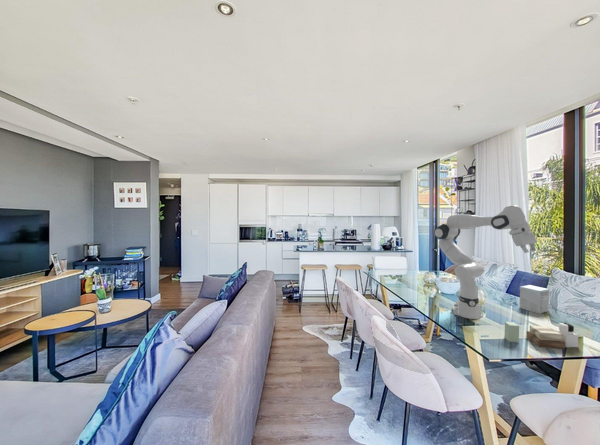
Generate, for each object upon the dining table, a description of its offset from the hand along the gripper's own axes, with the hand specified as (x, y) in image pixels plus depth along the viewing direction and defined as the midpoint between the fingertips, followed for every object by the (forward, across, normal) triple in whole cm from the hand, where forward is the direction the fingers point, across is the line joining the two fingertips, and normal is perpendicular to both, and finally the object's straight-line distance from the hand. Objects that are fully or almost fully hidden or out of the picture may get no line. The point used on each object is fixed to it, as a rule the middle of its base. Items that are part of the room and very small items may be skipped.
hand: (530, 251), depth 160 cm
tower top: (+49, +1, -9) cm, 49 cm away
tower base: (+53, +1, -11) cm, 54 cm away
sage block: (+48, +14, -21) cm, 54 cm away
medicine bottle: (+55, -8, -5) cm, 56 cm away
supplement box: (+44, -60, -36) cm, 83 cm away
